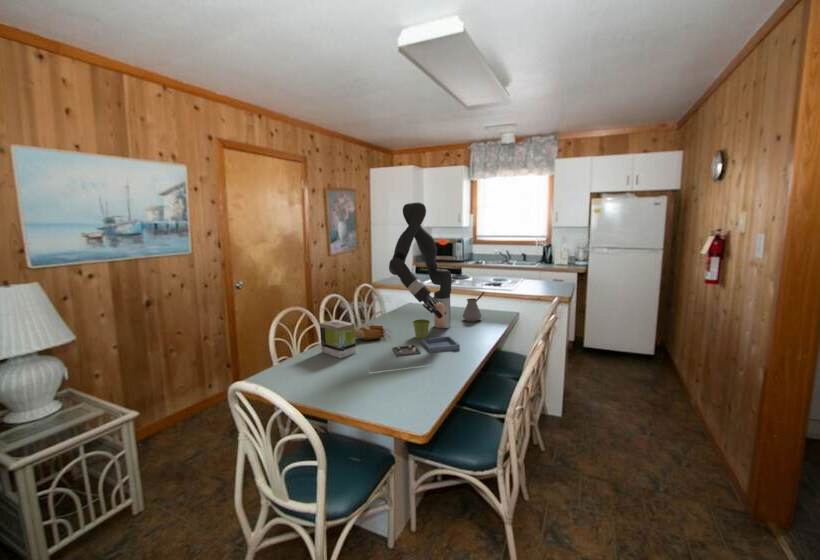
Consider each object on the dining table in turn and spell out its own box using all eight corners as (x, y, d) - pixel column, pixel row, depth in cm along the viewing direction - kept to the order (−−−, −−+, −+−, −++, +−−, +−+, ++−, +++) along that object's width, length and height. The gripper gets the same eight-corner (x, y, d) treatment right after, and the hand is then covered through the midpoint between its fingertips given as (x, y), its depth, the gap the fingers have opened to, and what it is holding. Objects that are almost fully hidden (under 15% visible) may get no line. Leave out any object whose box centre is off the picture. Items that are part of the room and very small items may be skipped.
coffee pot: (475, 323, 232) (475, 298, 229) (459, 321, 239) (458, 296, 237) (492, 315, 248) (492, 292, 246) (476, 313, 255) (476, 290, 253)
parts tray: (392, 349, 191) (392, 345, 191) (414, 347, 193) (414, 343, 193) (397, 357, 180) (397, 352, 180) (420, 354, 183) (420, 350, 182)
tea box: (357, 353, 188) (355, 323, 186) (339, 359, 181) (337, 327, 178) (337, 347, 198) (335, 318, 196) (320, 352, 191) (318, 322, 189)
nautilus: (398, 338, 210) (383, 348, 197) (364, 332, 220) (348, 341, 207) (398, 324, 208) (382, 333, 195) (364, 318, 218) (347, 326, 205)
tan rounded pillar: (433, 324, 193) (432, 302, 191) (442, 323, 194) (442, 301, 192) (436, 326, 188) (435, 304, 186) (446, 325, 189) (445, 303, 187)
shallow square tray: (421, 343, 198) (421, 339, 198) (449, 340, 201) (449, 336, 201) (430, 353, 184) (430, 348, 184) (459, 349, 187) (459, 344, 187)
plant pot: (430, 334, 213) (430, 319, 212) (430, 340, 204) (429, 323, 203) (413, 334, 214) (413, 319, 213) (412, 340, 205) (411, 323, 203)
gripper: (418, 287, 184) (444, 314, 182) (428, 282, 197) (452, 307, 195) (408, 298, 187) (433, 324, 184) (419, 292, 200) (442, 317, 198)
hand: (443, 315), depth 190 cm, fingers closed on tan rounded pillar, 5 cm apart
